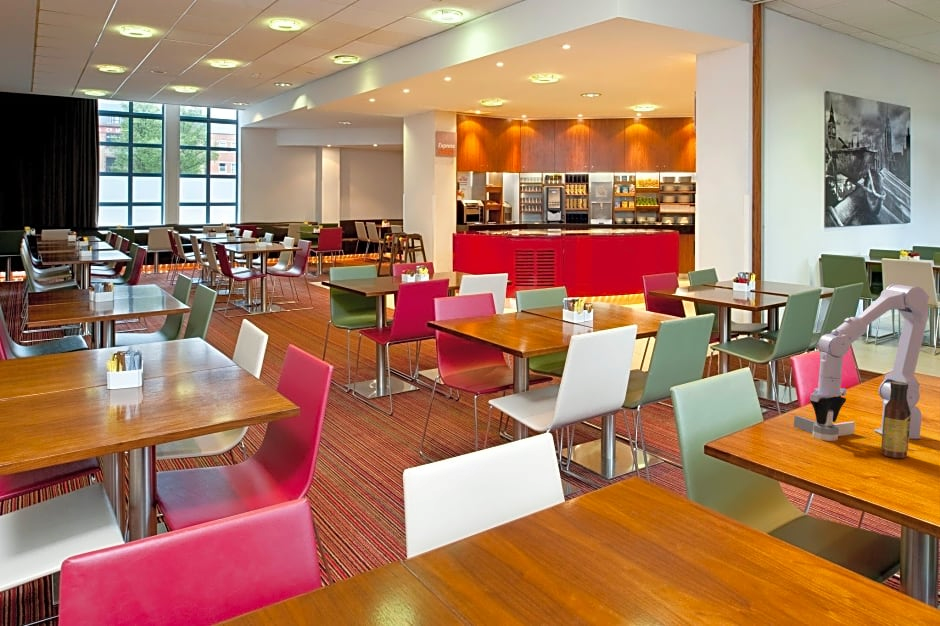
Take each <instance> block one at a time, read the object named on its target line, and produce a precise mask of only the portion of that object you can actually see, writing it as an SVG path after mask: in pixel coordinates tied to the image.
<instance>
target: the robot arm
mask: <svg viewBox="0 0 940 626" xmlns="http://www.w3.org/2000/svg"><path fill="white" fill-rule="evenodd" d="M929 298H930V296H929V294H928V293H927V292H926V291H925V290H924V288H923V287H920V286H910V285H905V284H900V283H892V284H889V285H888V286H887V287H886V288H885V289H883V290H882V291H881V292H880V296H879V297H877V299H875V300H874V301H873V302H872V303H871V304H870V305H869V306H868V307H867V308H865V309H864V311H862V312H861V313H860V314H859V315H858V316H850V317H846V318H845V319H844V320H843V321H844V322H843V323H842V324H840V325H839V326H837V327H836V328H834V329H832V330H831V332H830V333H825V334H823V335H822V336H821V337H820V338H819V340H818V342H817V343H816V347H817V350H818V351H819V357H820V360H819V371H818V373H819V374H818V382H817V383H818V384H817V385H818V386H817V387H816V388H814V391H813V392H812V393H810V396H809V399H810V400H809V401H810V403H811V406H812V408H813V410H814V414H815V419H816V420H815V421H816V422H817V423H818V424H822V425H825V423H826V419H827V414H828V411H829V410H833V422H832V423H836V421H837V419H838V417H839V413H840V411H841V409H842V407H843V406H844V404H845V403H846V402H847V398H846V395H847V388H843V387H841V385H842V375H843V362H844V356H845V355H847V353H848V352H849V350H850V347H851V346H852V344H853V343H854V342H855V341H856V340H858V339H859V338H860V337H861V336H863V335H865V333H867V331H868V329H867V328H868V326H869V325H870V324H871V323H873V322H874V321H876V320H878V319H879V318H880V317H881V316H883V315H884V314H886V313H888V312H889V311H891V310H898V312H899V313H900V314H901V316H902V317H903V318H904V319H903V323H902V328H901V332H900V333H901V334H900V335H899V336H900V337H899V340H898V341H899V342H898V346H897V349H896V354H895V357H894V358H895V359H894V363H893V366H892V370H891V371H890V372H888V373H886V374H885V375H884V378H883V381H882V382H881V383H880V385H879V387H878V395H879V397H880V398H881V399H882V403H883V404H882V405H883V407H882V417H881V425H880V428H874V429H873V430H874V432H876V433H878V434H880V435H882V430H883V417H884V410H885V405H886V404H887V403H888V401H889V400H890V396H891V387H890V386H891V382H904V383H908V390H907V402H908V405H909V409H910V412H911V419H910V433H909V440H910V439H913V440H914V439H915V440H916V439H917V440H918V439H922V436H920V435H921V427H922V426H921V425H922V411H921V409H920V408H919V407H918V406H917V404H918V403H919V401H920V398H921V397H920V396H921V395H920V394H921V393H920V382H919V380H918V379H917V378H916V376H915V372H916V369H917V364H918V359H919V354H920V351H921V347H922V343H923V338H924V336H925V331H926V326H927V322H928V319H929V312H928V311H929V310H928V302H929ZM844 396H845V397H844Z"/></svg>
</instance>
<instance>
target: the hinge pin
mask: <svg viewBox="0 0 940 626" xmlns="http://www.w3.org/2000/svg"><path fill="white" fill-rule="evenodd" d="M833 423H834V422H833V410H829V411H828V414H827V419H826V423H825V425H822V424H821V427H826V428H832V424H833Z"/></svg>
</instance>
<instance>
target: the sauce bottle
mask: <svg viewBox="0 0 940 626" xmlns="http://www.w3.org/2000/svg"><path fill="white" fill-rule="evenodd" d="M890 387H891V396H890V400H889V401H888V403H887V404H886V405H885V410H884V417H883V430H882V434H881V447H880V449H881V454H882V455H883V456H885V457H888V458H893V459H905V458H907V457H908V452H909V442H910V439H909V433H910V419H911V412H910V409H909V405H908V402H907V390H908V383H904V382H891V386H890Z"/></svg>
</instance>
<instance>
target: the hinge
mask: <svg viewBox="0 0 940 626" xmlns="http://www.w3.org/2000/svg"><path fill="white" fill-rule="evenodd" d="M795 427H797V428H796V429H798V428H799V429H798V430H801V429H802V430H801V431H804V430H805V431H804V432H808V433H810V434H812V438H814V439H818V440H820V441H828V442H833V441H838V440H839V437H841V436H847V435H848V436H849V435H854V434H855V429H856V428H855V427H856V421H854V420H853V421H845V422H837V423H836V422H835V423H832V428H826V427H821V424H818V423H817V420H812V419H808V418H807V417H803V416H801V415H797V414H796V415H794V417H793V428H795Z"/></svg>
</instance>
